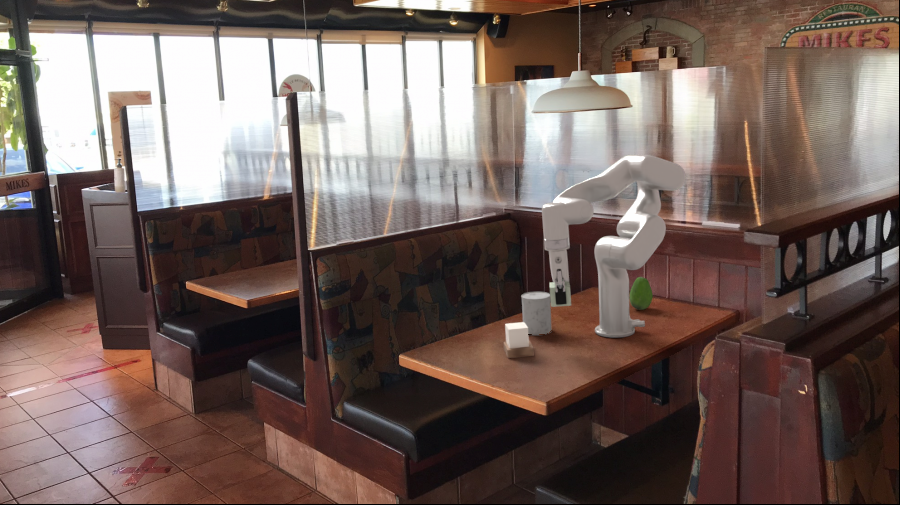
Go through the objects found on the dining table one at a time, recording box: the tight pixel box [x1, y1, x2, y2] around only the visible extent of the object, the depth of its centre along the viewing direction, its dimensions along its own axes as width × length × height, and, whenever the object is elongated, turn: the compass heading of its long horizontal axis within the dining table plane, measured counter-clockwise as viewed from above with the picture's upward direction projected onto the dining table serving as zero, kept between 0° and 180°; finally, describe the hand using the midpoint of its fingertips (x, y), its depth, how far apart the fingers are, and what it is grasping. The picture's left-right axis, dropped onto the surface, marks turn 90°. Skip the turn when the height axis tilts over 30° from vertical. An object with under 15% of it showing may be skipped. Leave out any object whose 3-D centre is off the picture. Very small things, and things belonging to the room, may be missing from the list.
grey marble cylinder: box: [520, 291, 552, 336], centre depth 242 cm, size 10×10×12 cm
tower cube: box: [504, 321, 530, 348], centre depth 223 cm, size 6×6×6 cm
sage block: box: [549, 280, 572, 308], centre depth 222 cm, size 6×6×6 cm
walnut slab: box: [503, 340, 535, 359], centre depth 223 cm, size 8×8×3 cm
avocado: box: [629, 276, 654, 311], centre depth 258 cm, size 8×8×12 cm
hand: (560, 300), depth 222 cm, fingers closed on sage block, 6 cm apart
